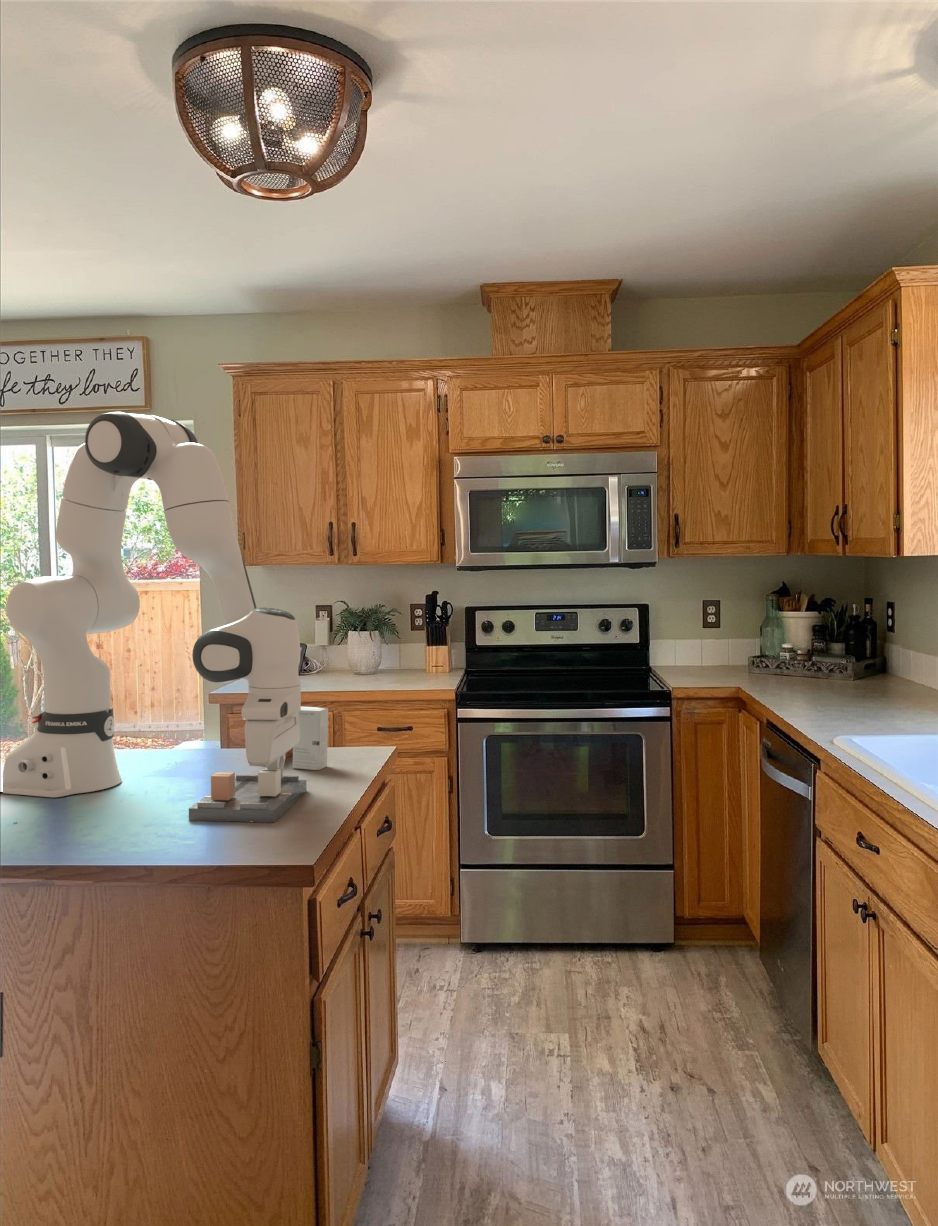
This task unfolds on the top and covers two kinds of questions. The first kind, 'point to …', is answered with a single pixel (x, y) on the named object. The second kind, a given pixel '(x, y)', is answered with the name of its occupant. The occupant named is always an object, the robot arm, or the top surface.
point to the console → (249, 802)
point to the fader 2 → (269, 782)
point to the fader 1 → (222, 785)
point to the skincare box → (312, 739)
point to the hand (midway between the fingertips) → (275, 780)
